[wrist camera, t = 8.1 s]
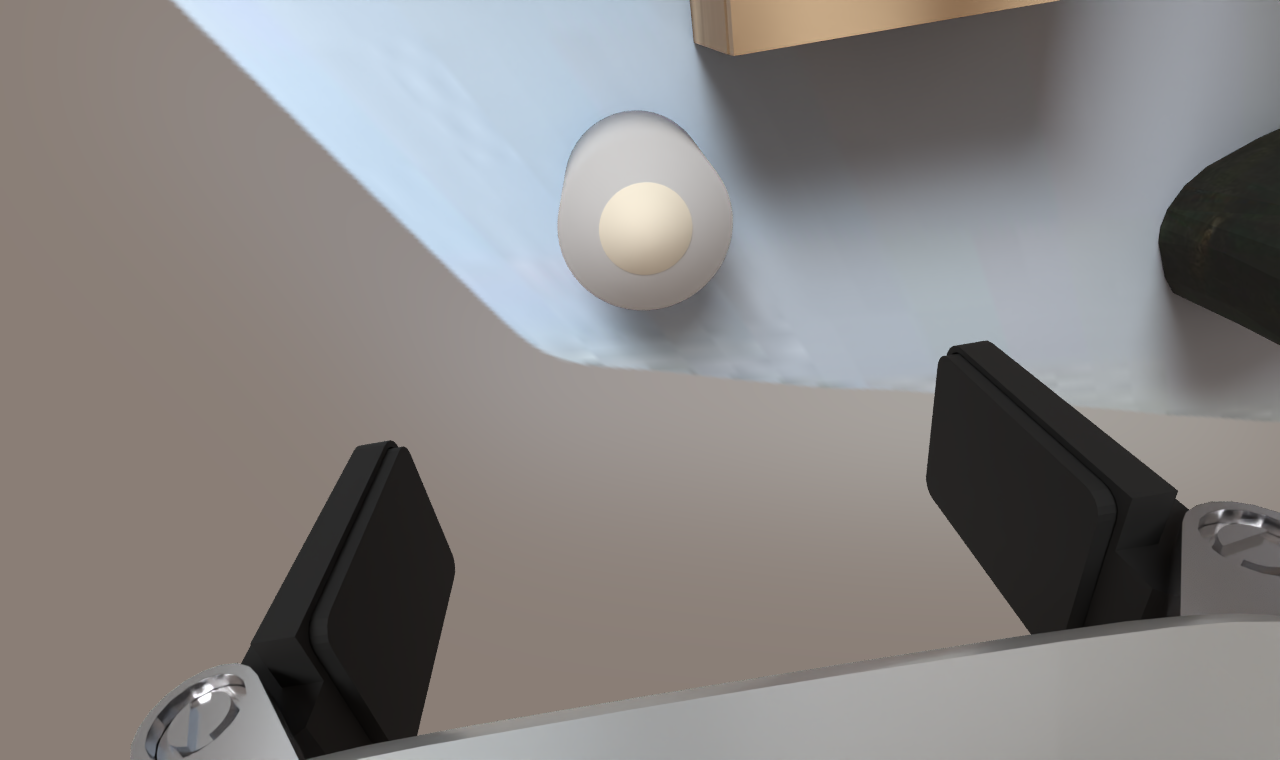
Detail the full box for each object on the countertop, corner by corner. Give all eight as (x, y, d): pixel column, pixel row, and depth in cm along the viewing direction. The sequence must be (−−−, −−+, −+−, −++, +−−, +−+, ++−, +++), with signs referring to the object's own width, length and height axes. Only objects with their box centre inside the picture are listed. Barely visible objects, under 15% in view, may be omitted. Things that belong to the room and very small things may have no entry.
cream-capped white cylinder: (698, 98, 25) (726, 122, 20) (711, 243, 28) (739, 296, 23) (550, 124, 25) (539, 154, 20) (579, 264, 28) (576, 323, 23)
